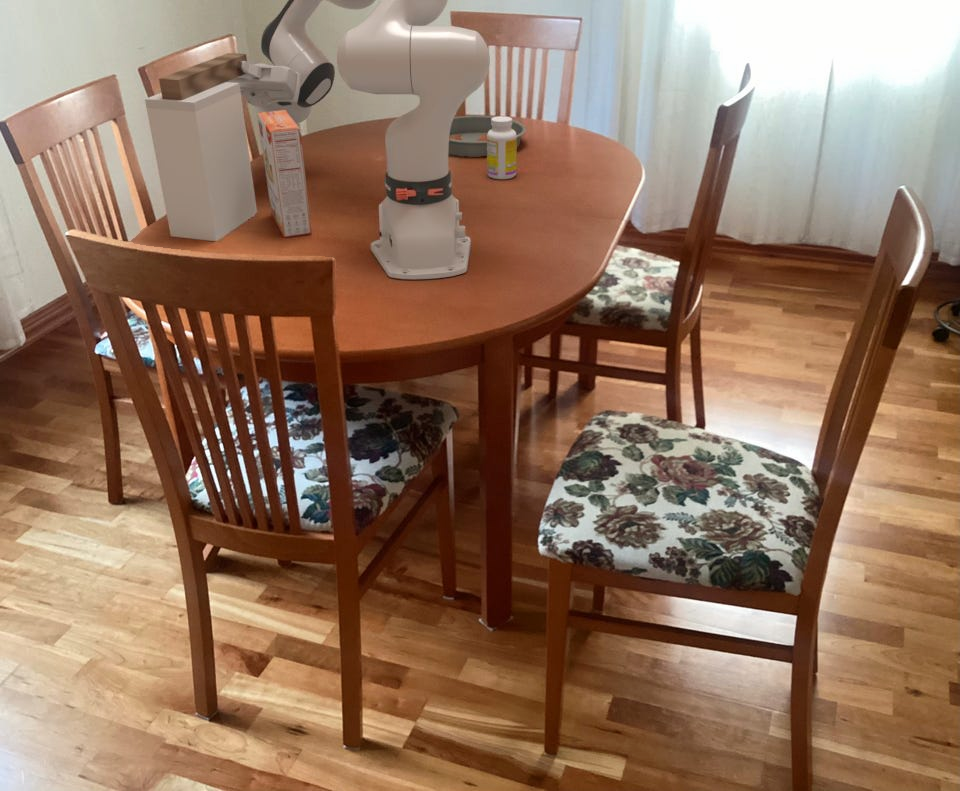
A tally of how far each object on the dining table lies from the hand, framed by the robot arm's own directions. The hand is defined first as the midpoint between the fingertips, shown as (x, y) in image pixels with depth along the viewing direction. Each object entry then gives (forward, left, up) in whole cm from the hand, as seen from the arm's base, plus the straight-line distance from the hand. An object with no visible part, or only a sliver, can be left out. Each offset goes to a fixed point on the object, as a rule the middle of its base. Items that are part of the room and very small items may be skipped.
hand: (228, 63), depth 180 cm
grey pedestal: (-12, +6, -28) cm, 31 cm away
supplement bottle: (+10, -56, -28) cm, 64 cm away
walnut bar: (-7, +3, -2) cm, 9 cm away
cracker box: (-14, -9, -28) cm, 33 cm away
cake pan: (+36, -54, -29) cm, 71 cm away
